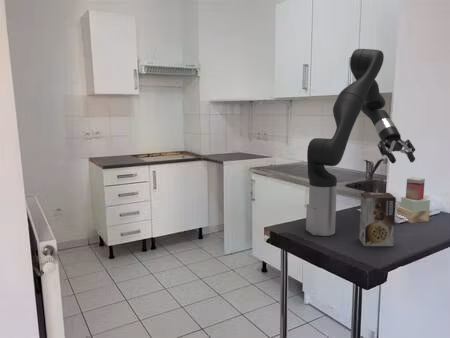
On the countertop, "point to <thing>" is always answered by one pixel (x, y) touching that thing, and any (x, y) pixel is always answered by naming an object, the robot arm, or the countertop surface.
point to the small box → (415, 188)
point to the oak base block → (413, 215)
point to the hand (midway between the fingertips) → (403, 161)
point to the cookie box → (377, 219)
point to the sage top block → (415, 204)
